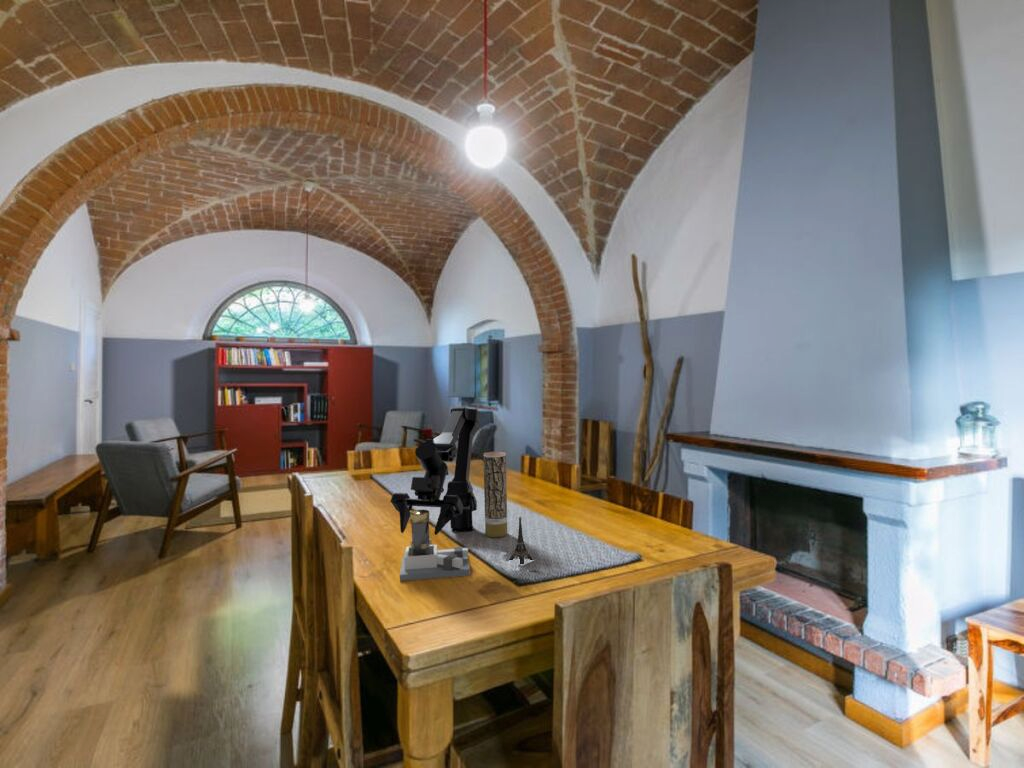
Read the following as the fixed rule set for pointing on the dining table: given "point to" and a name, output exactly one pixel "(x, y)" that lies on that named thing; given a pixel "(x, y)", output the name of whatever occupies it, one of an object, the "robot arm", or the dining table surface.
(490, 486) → the brown textured cylinder
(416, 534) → the coupling
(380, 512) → the dining table surface
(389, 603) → the dining table surface
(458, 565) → the shaft stand
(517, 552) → the eiffel tower figurine
